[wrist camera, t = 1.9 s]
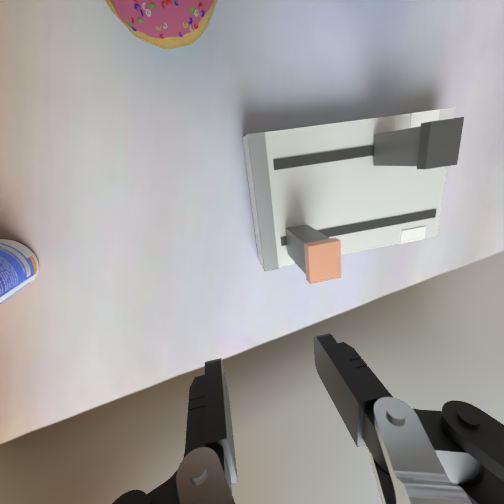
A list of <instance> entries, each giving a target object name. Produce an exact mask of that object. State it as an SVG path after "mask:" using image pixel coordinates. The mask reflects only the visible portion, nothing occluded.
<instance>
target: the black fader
mask: <svg viewBox="0 0 504 504" xmlns="http://www.w3.org/2000/svg"><path fill="white" fill-rule="evenodd" d="M463 120H464V117H460V118H453V119H446V120H438V121H431V122H425V123H421V126H419V127H414V128H408V129H402V130H396V131H391V132H385V133H379V134H375V139H374V166H417V169H431V168H437V167H444V166H450V165H456V164H457V160H458V154H459V147H460V140H461V134H462V127H463Z"/></svg>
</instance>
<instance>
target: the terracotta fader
mask: <svg viewBox="0 0 504 504" xmlns="http://www.w3.org/2000/svg"><path fill="white" fill-rule="evenodd" d="M285 230H286V241H287V252H288V255H289V256H290V257H291V258H292V259H293V261H294V262H295V263H296V264H297V265H298V266H299V267H300V268H301V269H302V271H303V272H304V273H305V274H306V280H307V281H308V282H309V283H310V284H312V283H317V282H322V281H327V280H331V279H336V278H341V240H339V239H337V238H329V237H327V236H325V235H324V234H322V233H320V232H319V231H317V230H315V229H314V228H312V227H310V226H309V225H307V224H306V225H300V226H295V227H289V228H285Z"/></svg>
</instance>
